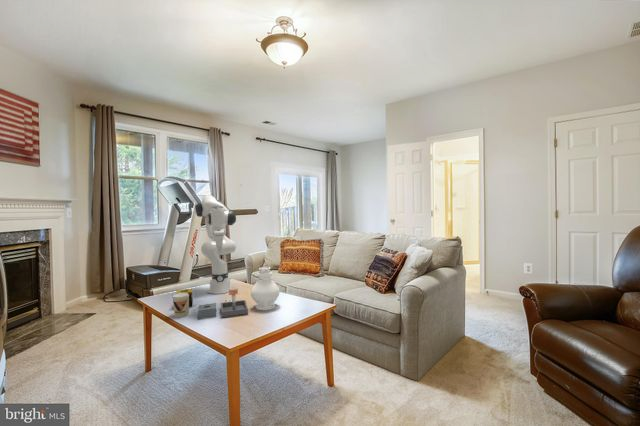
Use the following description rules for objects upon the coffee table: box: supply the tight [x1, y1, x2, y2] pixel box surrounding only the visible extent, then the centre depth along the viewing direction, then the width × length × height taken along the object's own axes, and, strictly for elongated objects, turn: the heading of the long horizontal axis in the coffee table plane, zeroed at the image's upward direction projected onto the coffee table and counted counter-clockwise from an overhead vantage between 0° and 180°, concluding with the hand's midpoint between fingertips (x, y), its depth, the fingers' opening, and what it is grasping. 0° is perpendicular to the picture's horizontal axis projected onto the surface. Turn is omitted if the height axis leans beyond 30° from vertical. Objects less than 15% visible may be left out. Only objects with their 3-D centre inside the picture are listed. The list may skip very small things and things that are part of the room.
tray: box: [220, 299, 249, 319], centre depth 188 cm, size 18×15×4 cm
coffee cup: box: [172, 293, 190, 318], centre depth 185 cm, size 9×9×12 cm
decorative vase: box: [250, 266, 280, 311], centre depth 195 cm, size 18×18×25 cm
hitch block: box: [197, 302, 217, 320], centre depth 183 cm, size 10×10×5 cm
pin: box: [228, 288, 239, 310], centre depth 188 cm, size 2×5×12 cm, turn 109°
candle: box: [174, 288, 194, 308], centre depth 201 cm, size 10×10×10 cm
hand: (219, 252), depth 198 cm, fingers open, 8 cm apart
